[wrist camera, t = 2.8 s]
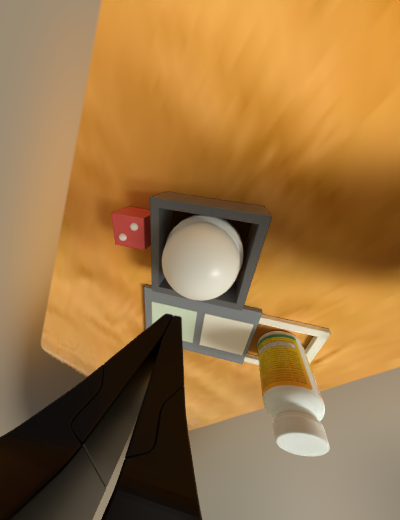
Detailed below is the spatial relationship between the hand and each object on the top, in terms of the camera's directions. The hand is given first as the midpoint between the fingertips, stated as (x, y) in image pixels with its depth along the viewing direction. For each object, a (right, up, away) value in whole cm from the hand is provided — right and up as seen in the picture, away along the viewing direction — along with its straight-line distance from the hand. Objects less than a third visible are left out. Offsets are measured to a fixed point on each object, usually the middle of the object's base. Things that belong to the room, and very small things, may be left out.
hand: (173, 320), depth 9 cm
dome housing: (0, +5, +9) cm, 11 cm away
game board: (+5, -7, +14) cm, 17 cm away
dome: (+2, +4, +9) cm, 10 cm away
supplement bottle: (+12, -8, +14) cm, 20 cm away
